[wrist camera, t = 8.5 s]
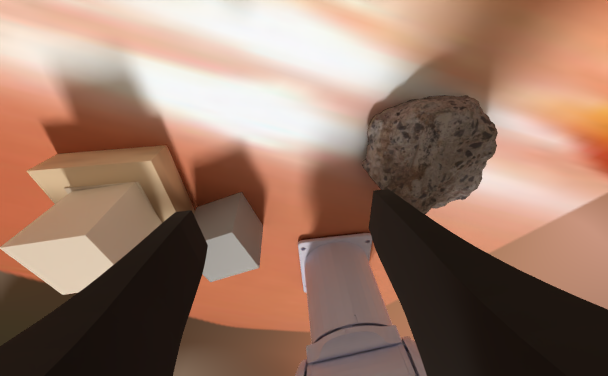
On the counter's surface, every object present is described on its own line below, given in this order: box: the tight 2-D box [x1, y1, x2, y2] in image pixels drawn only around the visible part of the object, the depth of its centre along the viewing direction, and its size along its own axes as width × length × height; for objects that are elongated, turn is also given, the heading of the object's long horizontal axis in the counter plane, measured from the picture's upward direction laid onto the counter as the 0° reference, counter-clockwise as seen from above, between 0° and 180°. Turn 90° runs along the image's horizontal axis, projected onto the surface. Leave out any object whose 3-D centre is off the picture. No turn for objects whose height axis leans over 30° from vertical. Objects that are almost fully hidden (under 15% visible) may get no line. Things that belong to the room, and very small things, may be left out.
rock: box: [362, 95, 497, 214], centre depth 18 cm, size 9×11×4 cm
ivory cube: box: [0, 182, 162, 295], centre depth 15 cm, size 4×4×5 cm
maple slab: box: [27, 145, 195, 223], centre depth 19 cm, size 8×8×3 cm
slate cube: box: [194, 192, 263, 282], centre depth 20 cm, size 4×4×5 cm
